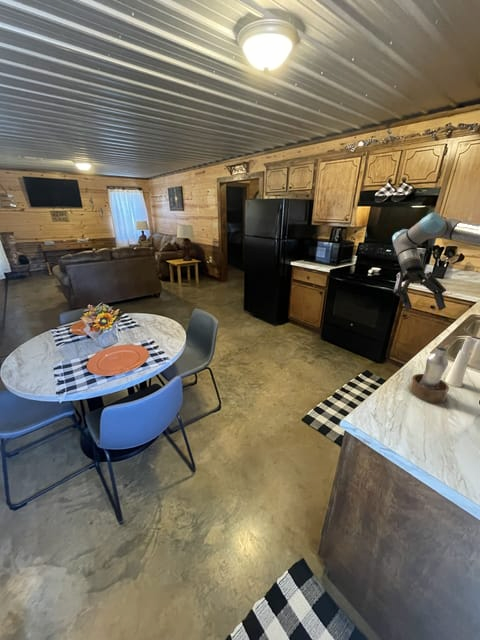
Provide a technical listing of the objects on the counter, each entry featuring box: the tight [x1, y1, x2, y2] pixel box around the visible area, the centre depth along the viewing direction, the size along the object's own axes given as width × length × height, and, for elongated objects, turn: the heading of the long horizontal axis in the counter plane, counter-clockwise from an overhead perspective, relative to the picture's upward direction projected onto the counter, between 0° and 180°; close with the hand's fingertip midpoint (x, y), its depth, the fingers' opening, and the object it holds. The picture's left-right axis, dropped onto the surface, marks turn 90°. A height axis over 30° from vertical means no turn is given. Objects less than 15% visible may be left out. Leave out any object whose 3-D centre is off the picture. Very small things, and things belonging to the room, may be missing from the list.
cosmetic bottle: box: [444, 336, 475, 388], centre depth 106 cm, size 6×6×22 cm
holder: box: [409, 373, 450, 404], centre depth 102 cm, size 12×12×6 cm
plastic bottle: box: [419, 346, 449, 390], centre depth 100 cm, size 6×7×20 cm
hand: (425, 309), depth 102 cm, fingers open, 13 cm apart
